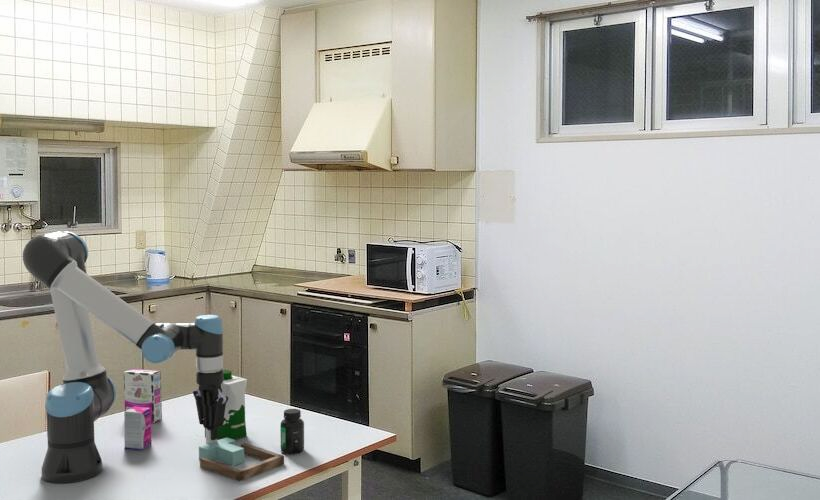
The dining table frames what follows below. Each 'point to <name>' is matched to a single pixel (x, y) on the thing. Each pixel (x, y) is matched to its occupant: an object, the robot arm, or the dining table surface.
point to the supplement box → (137, 428)
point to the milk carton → (233, 407)
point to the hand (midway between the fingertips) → (211, 449)
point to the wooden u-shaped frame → (231, 472)
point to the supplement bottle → (292, 432)
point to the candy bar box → (143, 391)
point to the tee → (223, 451)
